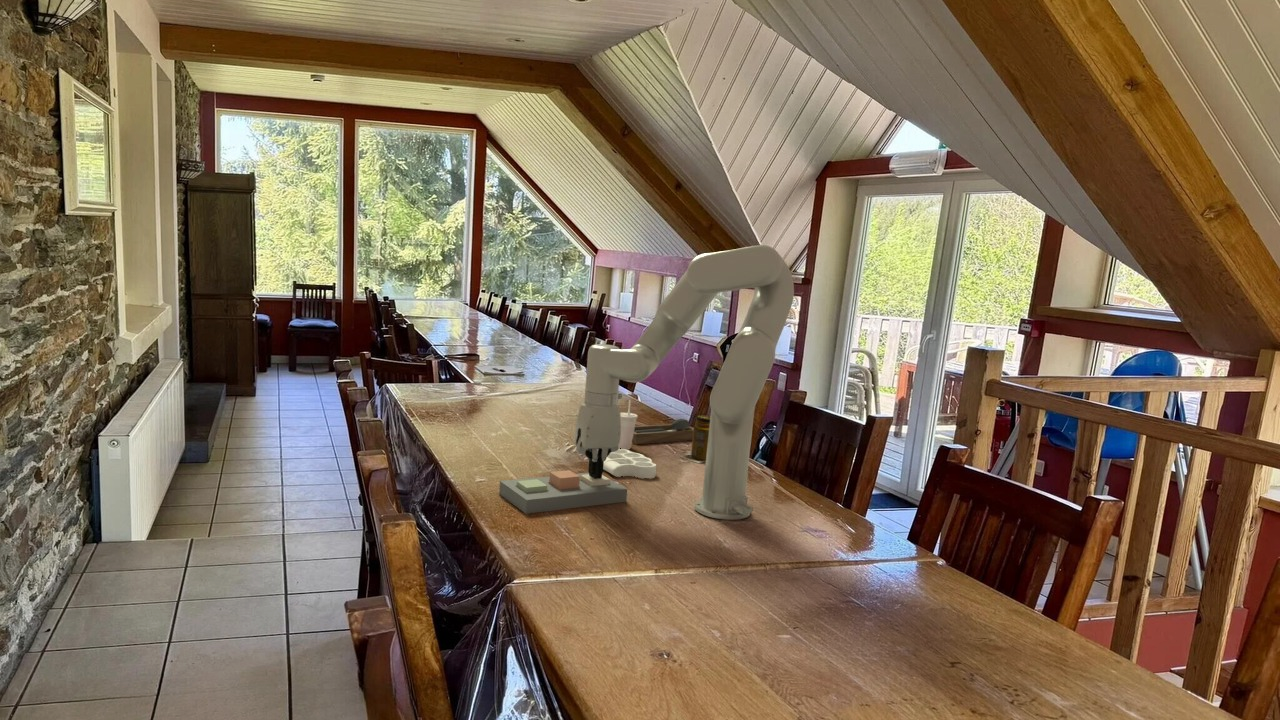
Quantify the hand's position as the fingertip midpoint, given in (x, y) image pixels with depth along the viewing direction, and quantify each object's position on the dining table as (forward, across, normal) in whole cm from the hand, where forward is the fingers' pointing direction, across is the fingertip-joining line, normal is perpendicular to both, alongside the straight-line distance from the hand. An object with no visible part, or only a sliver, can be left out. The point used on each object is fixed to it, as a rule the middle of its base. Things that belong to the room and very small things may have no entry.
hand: (595, 476), depth 185 cm
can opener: (+5, -47, -41) cm, 63 cm away
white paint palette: (+5, -19, -16) cm, 25 cm away
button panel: (+4, +8, 0) cm, 9 cm away
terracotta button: (+3, +8, 0) cm, 8 cm away
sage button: (+4, +16, 0) cm, 17 cm away
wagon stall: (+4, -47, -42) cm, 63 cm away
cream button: (+4, 0, 0) cm, 4 cm away
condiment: (+4, -45, -19) cm, 49 cm away
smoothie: (+4, -30, -35) cm, 46 cm away
